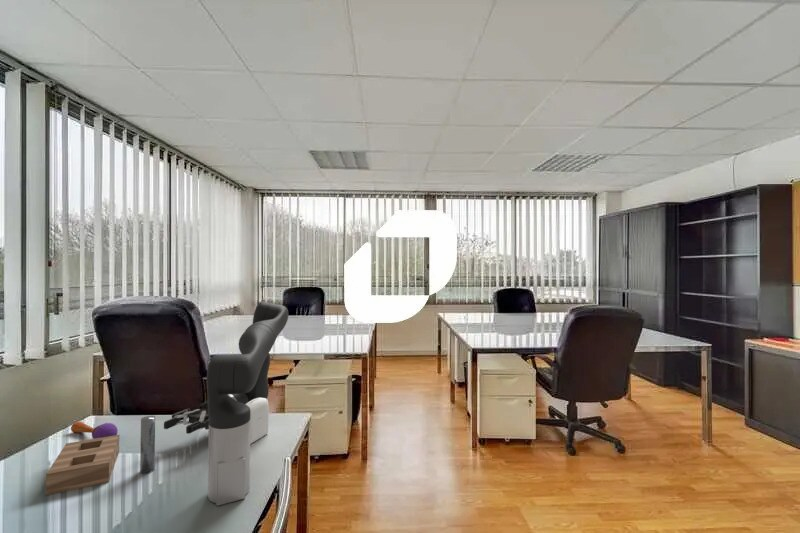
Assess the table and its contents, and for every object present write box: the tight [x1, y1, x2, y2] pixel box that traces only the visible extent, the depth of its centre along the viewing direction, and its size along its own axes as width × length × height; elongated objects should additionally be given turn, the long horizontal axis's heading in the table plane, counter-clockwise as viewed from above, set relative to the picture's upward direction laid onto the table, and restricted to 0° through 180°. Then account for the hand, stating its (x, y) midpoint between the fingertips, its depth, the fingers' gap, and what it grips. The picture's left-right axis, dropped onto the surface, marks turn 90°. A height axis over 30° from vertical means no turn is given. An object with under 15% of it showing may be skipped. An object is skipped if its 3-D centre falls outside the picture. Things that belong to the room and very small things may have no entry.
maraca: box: [70, 421, 118, 439], centre depth 122 cm, size 6×6×20 cm
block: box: [45, 434, 120, 496], centre depth 102 cm, size 18×12×5 cm, turn 29°
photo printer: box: [246, 398, 270, 445], centre depth 123 cm, size 10×4×12 cm, turn 160°
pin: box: [139, 415, 156, 475], centre depth 103 cm, size 3×3×14 cm
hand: (175, 428), depth 111 cm, fingers open, 8 cm apart
